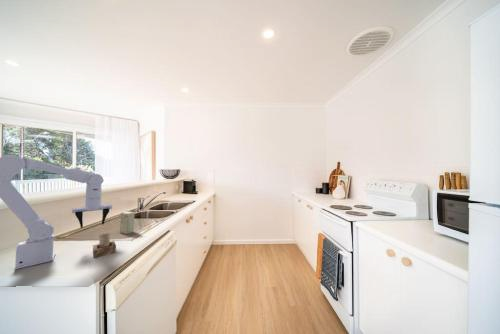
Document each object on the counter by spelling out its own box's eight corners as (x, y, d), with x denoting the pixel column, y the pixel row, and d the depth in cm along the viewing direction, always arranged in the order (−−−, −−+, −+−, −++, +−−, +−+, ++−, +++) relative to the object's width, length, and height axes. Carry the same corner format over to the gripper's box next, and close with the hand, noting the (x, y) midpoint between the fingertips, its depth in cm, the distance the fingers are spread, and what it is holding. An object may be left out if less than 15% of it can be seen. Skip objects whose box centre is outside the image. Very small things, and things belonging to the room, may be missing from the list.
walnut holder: (93, 257, 73) (93, 250, 74) (92, 251, 79) (93, 245, 79) (115, 252, 79) (115, 245, 79) (113, 246, 84) (114, 240, 84)
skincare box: (119, 233, 103) (120, 212, 104) (126, 230, 107) (127, 211, 108) (127, 234, 101) (127, 213, 102) (134, 231, 106) (134, 211, 106)
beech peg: (99, 254, 76) (100, 236, 77) (98, 252, 79) (99, 234, 79) (109, 251, 79) (110, 234, 79) (108, 249, 81) (109, 232, 82)
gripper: (72, 200, 77) (70, 231, 76) (113, 197, 87) (112, 224, 86) (72, 198, 82) (71, 227, 81) (111, 195, 92) (110, 221, 91)
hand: (92, 225), depth 84 cm, fingers open, 7 cm apart
